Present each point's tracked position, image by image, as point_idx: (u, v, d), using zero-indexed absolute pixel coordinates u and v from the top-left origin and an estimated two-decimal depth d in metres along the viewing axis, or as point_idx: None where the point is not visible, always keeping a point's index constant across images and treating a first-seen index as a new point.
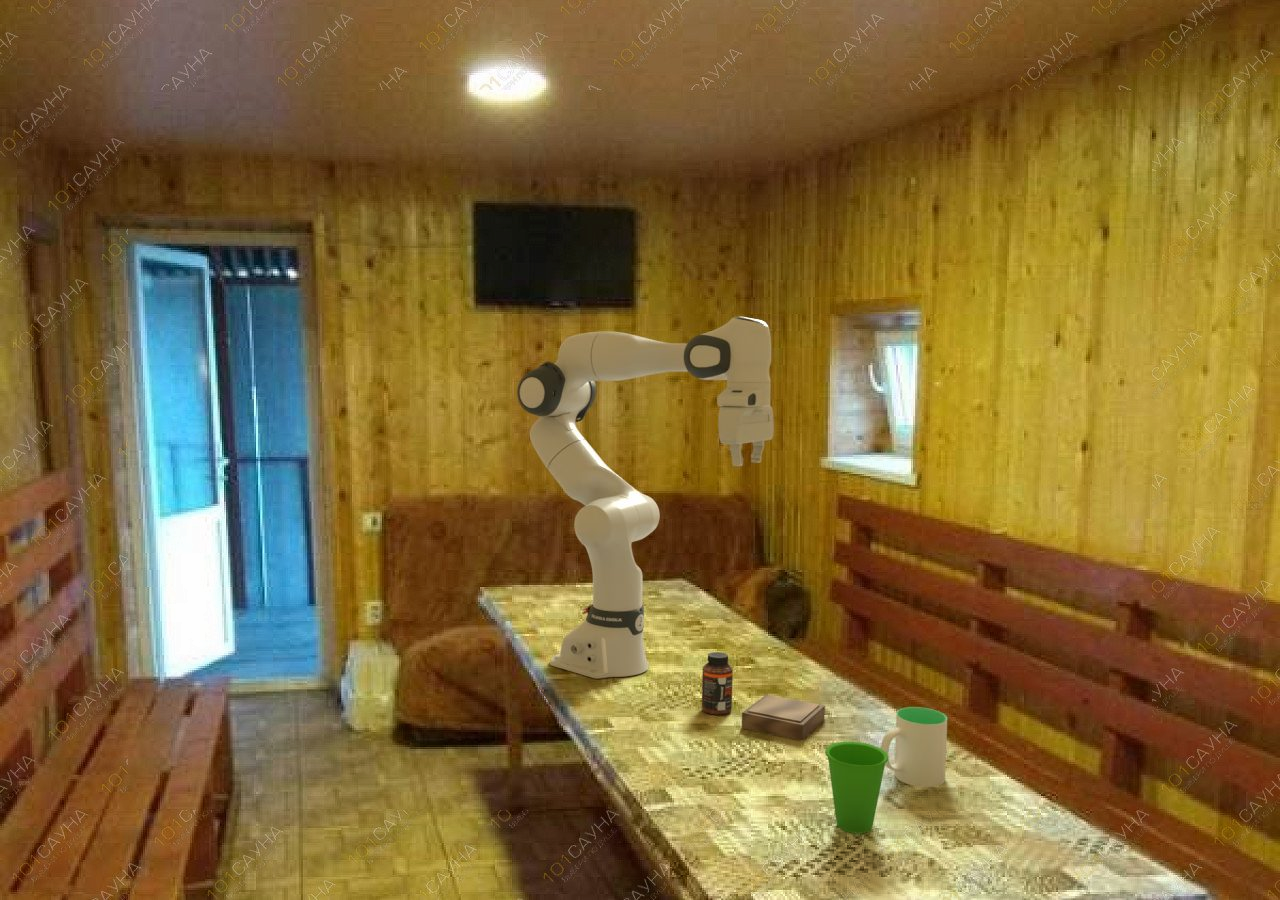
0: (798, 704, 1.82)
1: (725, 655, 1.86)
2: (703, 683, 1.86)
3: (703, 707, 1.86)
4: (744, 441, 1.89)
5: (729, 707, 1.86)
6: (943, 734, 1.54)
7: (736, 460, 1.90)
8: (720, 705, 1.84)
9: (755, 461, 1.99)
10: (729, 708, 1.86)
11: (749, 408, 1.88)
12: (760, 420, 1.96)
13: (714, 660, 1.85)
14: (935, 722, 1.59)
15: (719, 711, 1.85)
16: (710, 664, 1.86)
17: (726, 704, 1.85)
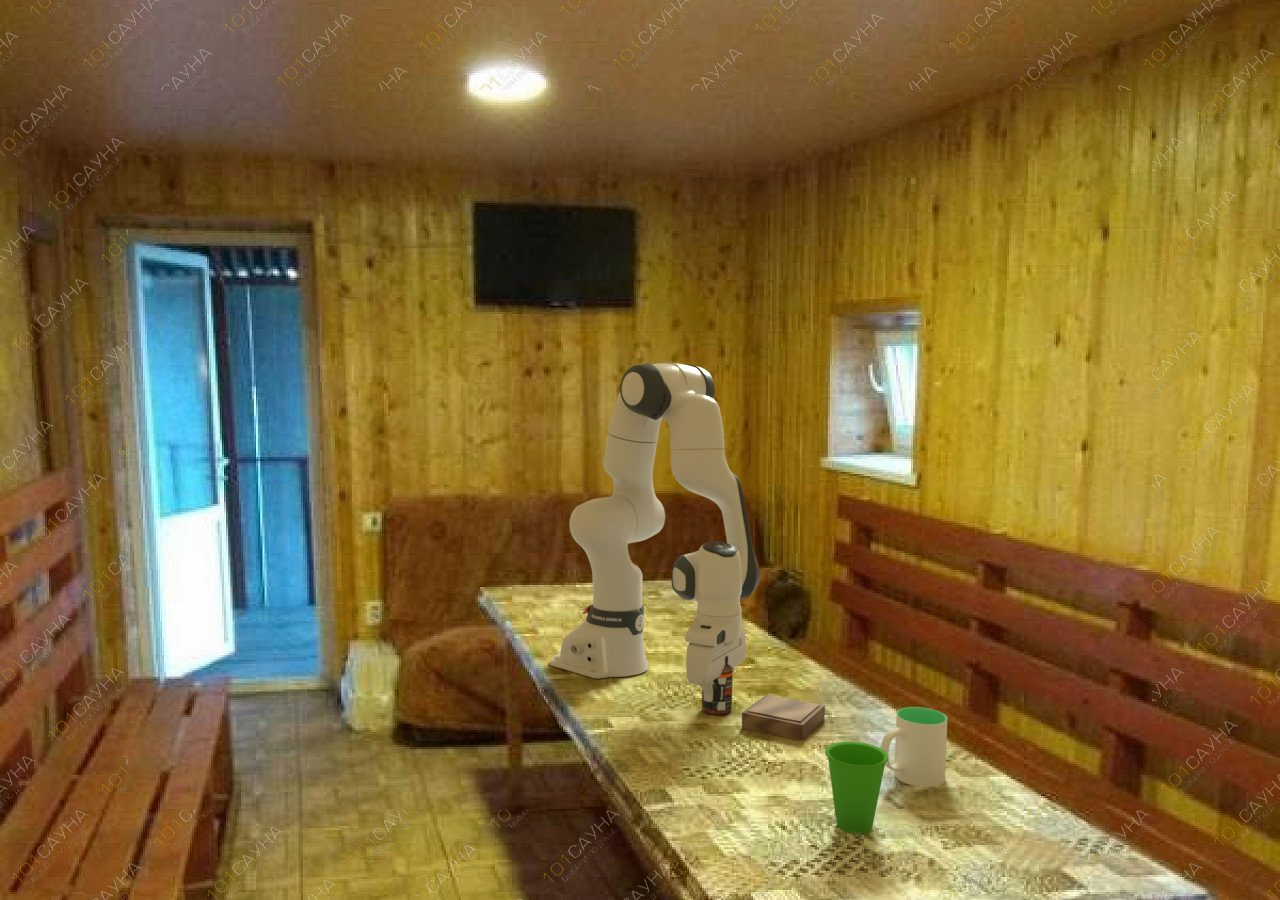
0: (798, 704, 1.82)
1: None
2: None
3: (703, 707, 1.86)
4: (713, 678, 1.81)
5: (729, 707, 1.86)
6: (943, 734, 1.54)
7: (707, 695, 1.83)
8: (720, 705, 1.84)
9: None
10: (729, 708, 1.86)
11: (718, 645, 1.80)
12: (731, 648, 1.88)
13: None
14: (935, 722, 1.59)
15: (719, 711, 1.85)
16: None
17: (726, 704, 1.85)
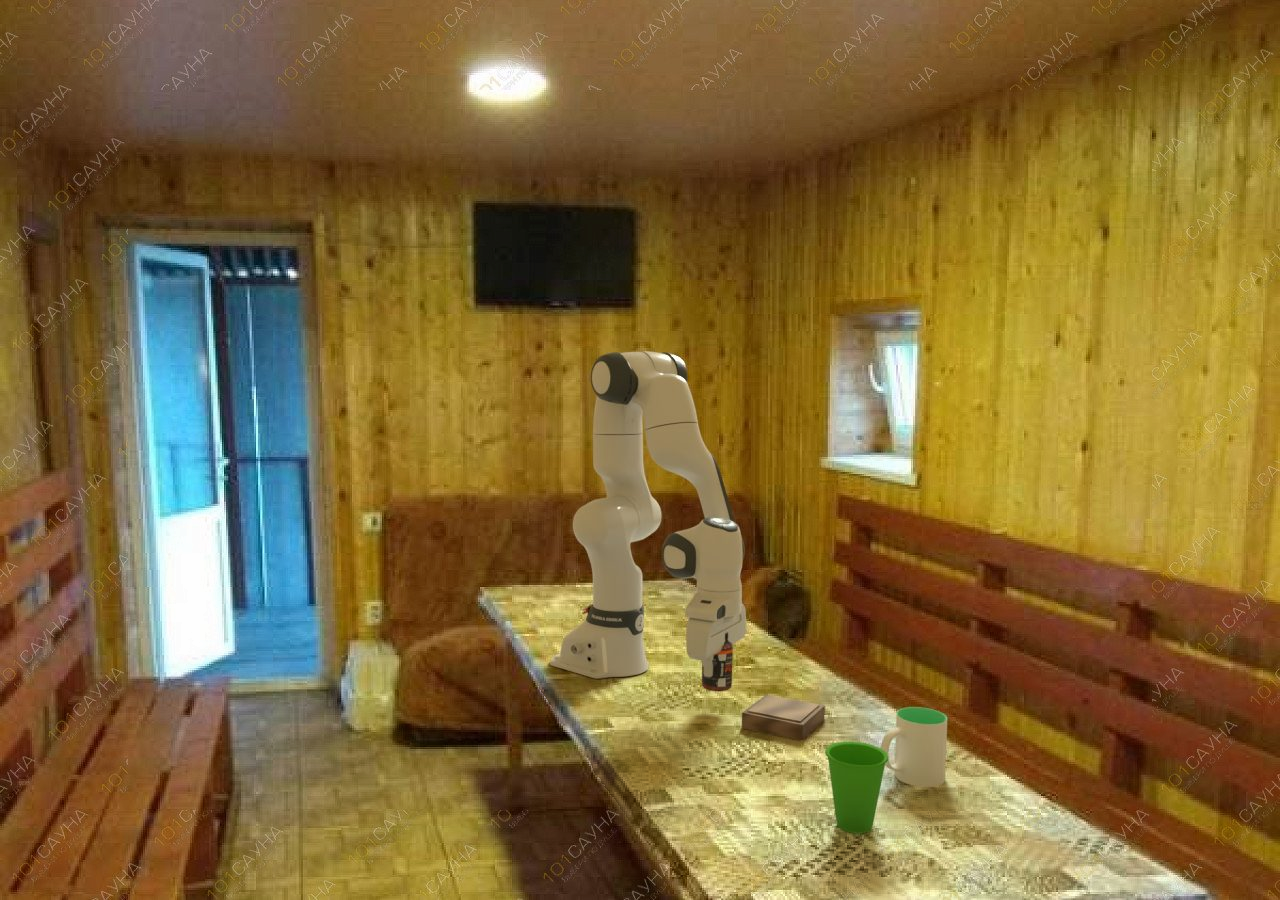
0: (798, 704, 1.82)
1: None
2: None
3: (703, 684, 1.86)
4: (713, 653, 1.81)
5: (729, 684, 1.85)
6: (943, 734, 1.54)
7: (707, 670, 1.83)
8: (720, 682, 1.84)
9: None
10: (729, 685, 1.86)
11: (718, 620, 1.80)
12: (731, 623, 1.88)
13: None
14: (935, 722, 1.59)
15: (719, 687, 1.84)
16: None
17: (726, 681, 1.85)
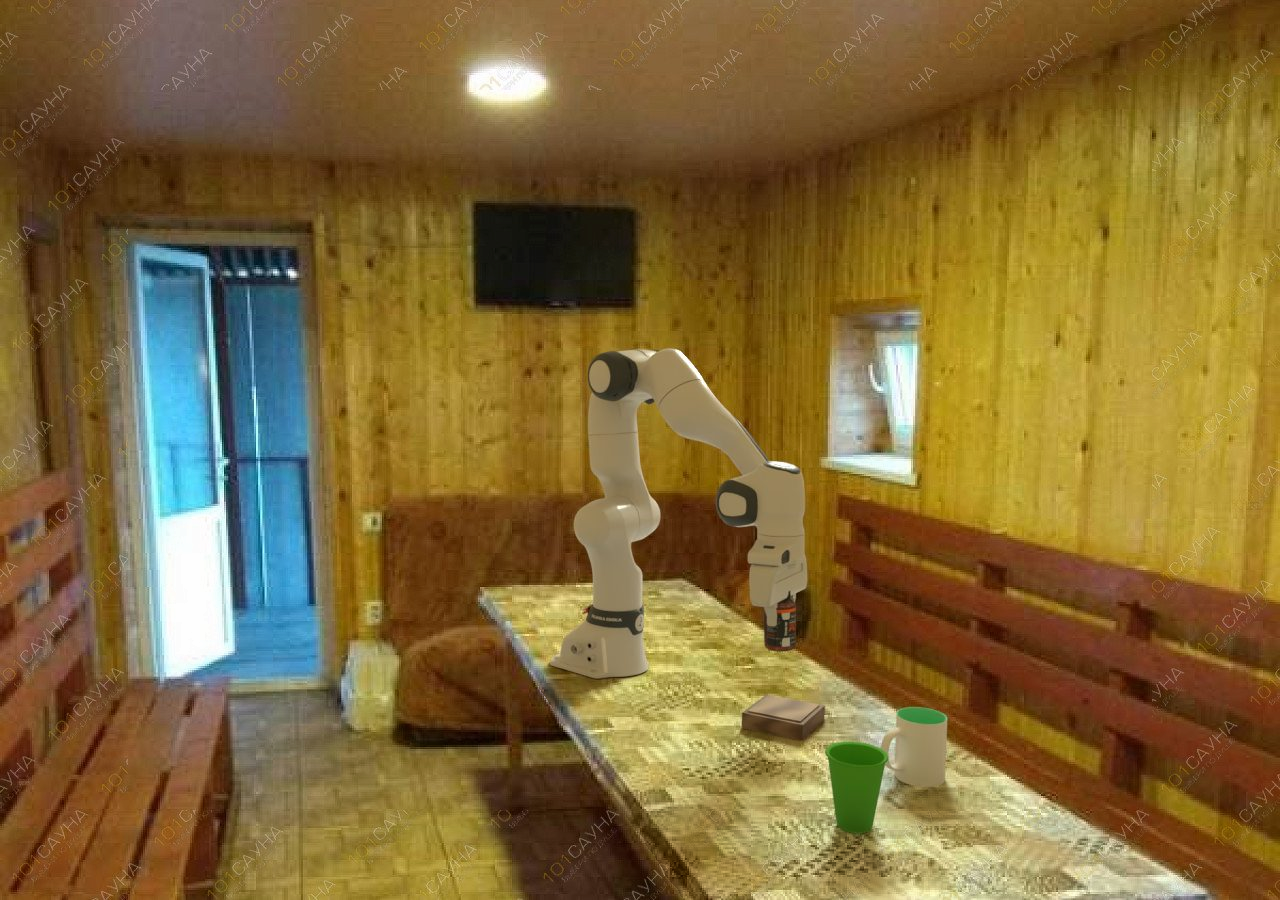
0: (798, 704, 1.82)
1: None
2: (765, 619, 1.79)
3: (766, 644, 1.79)
4: (777, 601, 1.73)
5: (793, 643, 1.78)
6: (943, 734, 1.54)
7: (771, 619, 1.76)
8: (784, 641, 1.77)
9: None
10: (793, 644, 1.78)
11: (783, 566, 1.72)
12: (793, 572, 1.81)
13: None
14: (935, 722, 1.59)
15: (784, 647, 1.77)
16: None
17: (790, 640, 1.77)
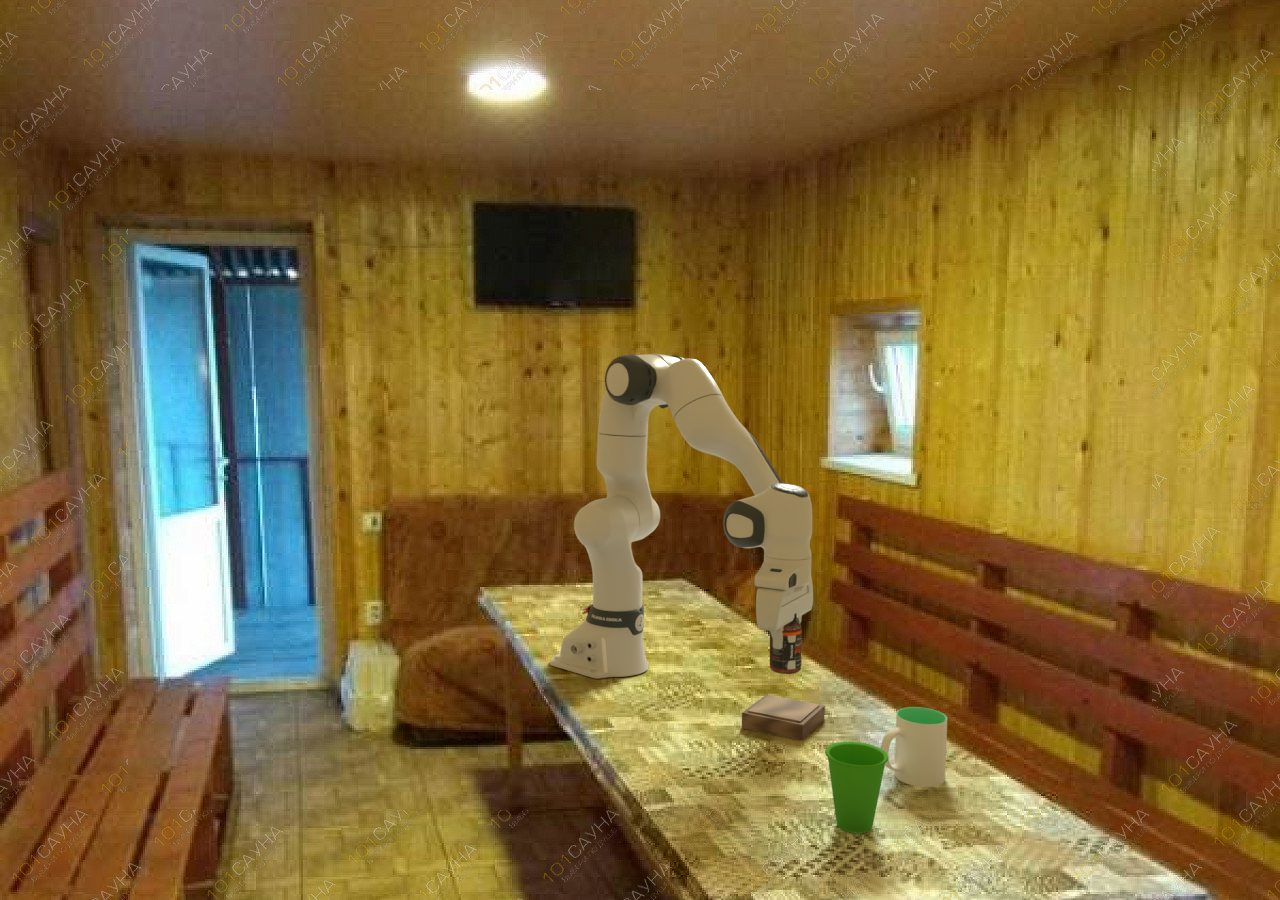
0: (798, 704, 1.82)
1: None
2: (771, 642, 1.79)
3: (772, 666, 1.79)
4: (784, 624, 1.73)
5: (799, 666, 1.78)
6: (943, 734, 1.54)
7: (777, 642, 1.76)
8: (790, 664, 1.77)
9: None
10: (799, 667, 1.78)
11: (789, 589, 1.72)
12: (799, 594, 1.80)
13: None
14: (935, 722, 1.59)
15: (789, 670, 1.77)
16: None
17: (796, 663, 1.77)
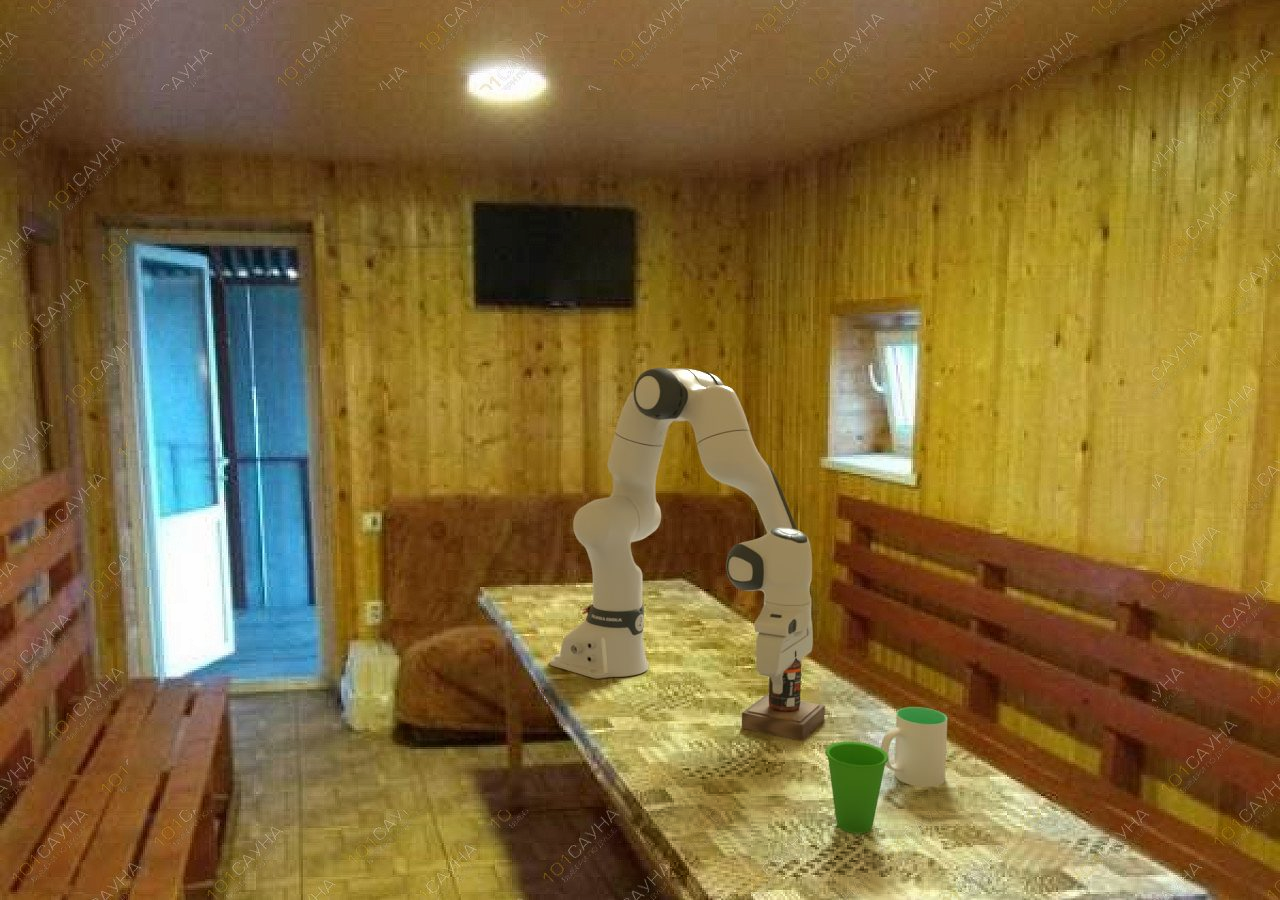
0: None
1: None
2: None
3: (771, 703, 1.79)
4: (784, 670, 1.74)
5: (798, 703, 1.79)
6: (943, 734, 1.54)
7: (777, 687, 1.76)
8: (789, 701, 1.77)
9: None
10: (798, 704, 1.79)
11: (789, 635, 1.73)
12: (799, 638, 1.81)
13: None
14: (935, 722, 1.59)
15: (788, 707, 1.78)
16: None
17: (795, 700, 1.78)
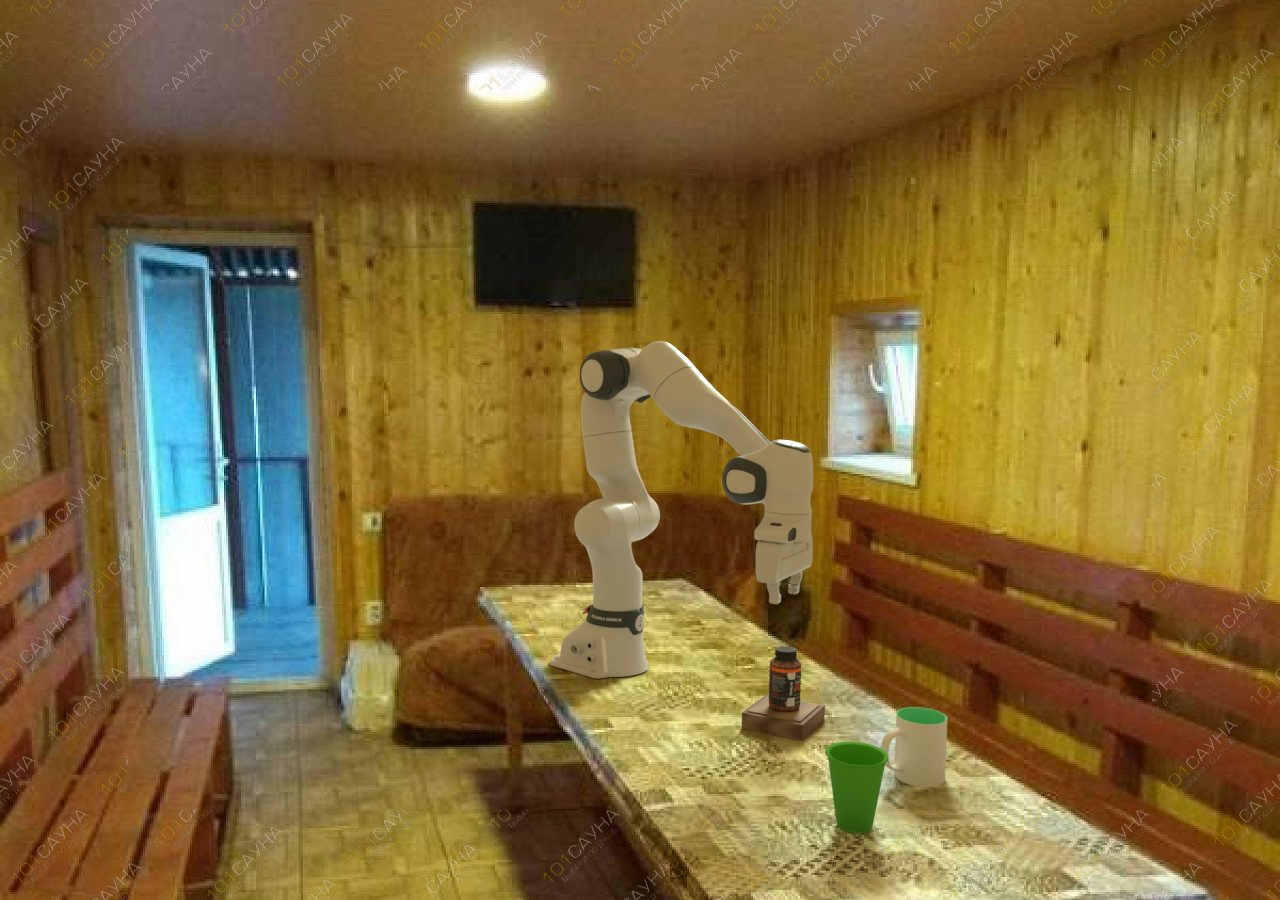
0: None
1: (793, 649, 1.79)
2: (771, 678, 1.79)
3: (771, 703, 1.79)
4: (783, 578, 1.75)
5: (798, 703, 1.79)
6: (943, 734, 1.54)
7: (773, 597, 1.76)
8: (789, 701, 1.77)
9: (793, 592, 1.84)
10: (798, 704, 1.79)
11: (789, 543, 1.74)
12: (799, 550, 1.82)
13: (782, 654, 1.78)
14: (935, 722, 1.59)
15: (788, 707, 1.78)
16: (778, 659, 1.78)
17: (795, 700, 1.78)
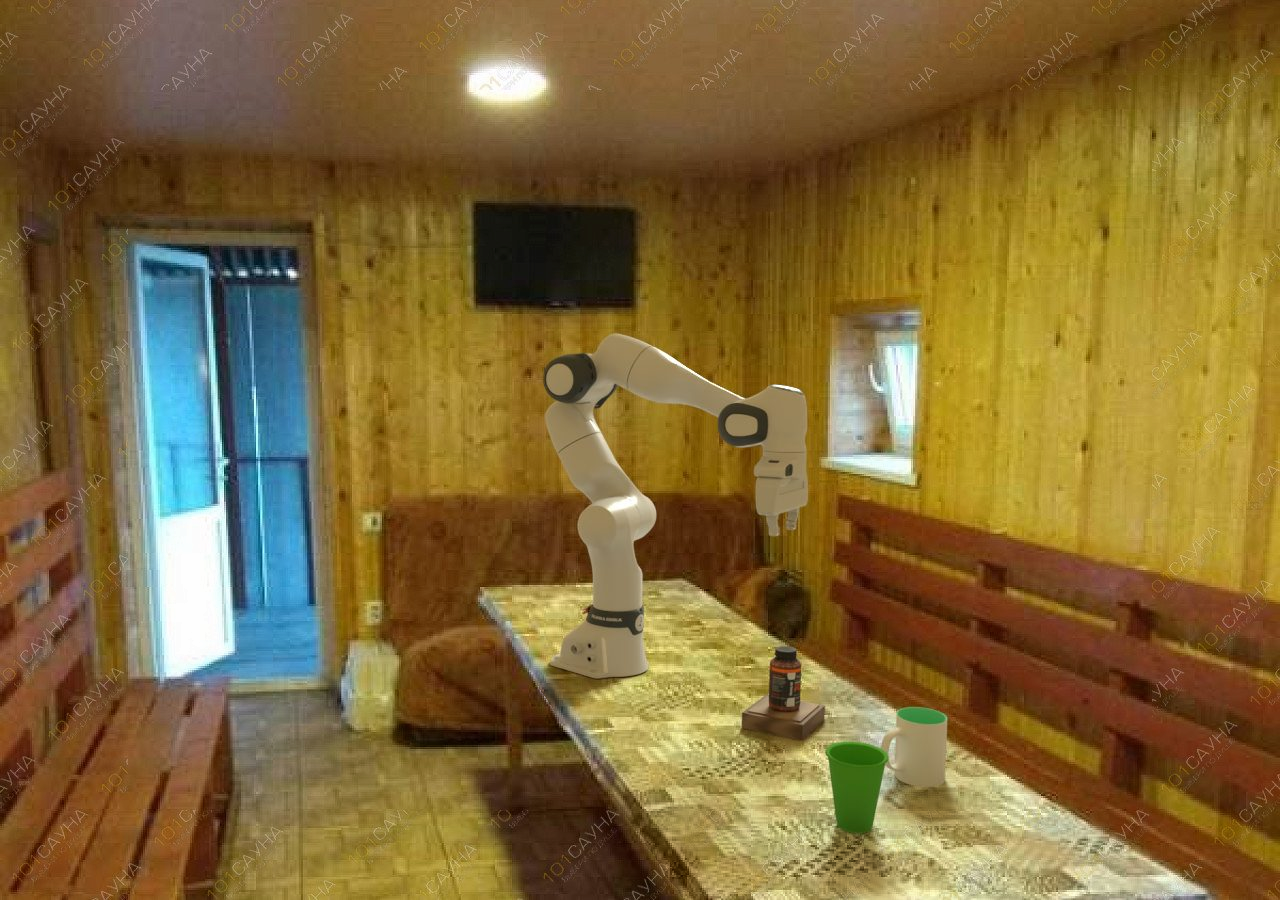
0: None
1: (793, 649, 1.79)
2: (771, 678, 1.79)
3: (771, 703, 1.79)
4: (781, 511, 1.88)
5: (798, 703, 1.79)
6: (943, 734, 1.54)
7: (772, 530, 1.90)
8: (789, 701, 1.77)
9: (790, 528, 1.98)
10: (798, 704, 1.79)
11: (786, 479, 1.87)
12: (795, 488, 1.95)
13: (782, 654, 1.78)
14: (935, 722, 1.59)
15: (788, 707, 1.78)
16: (778, 659, 1.78)
17: (795, 700, 1.78)
